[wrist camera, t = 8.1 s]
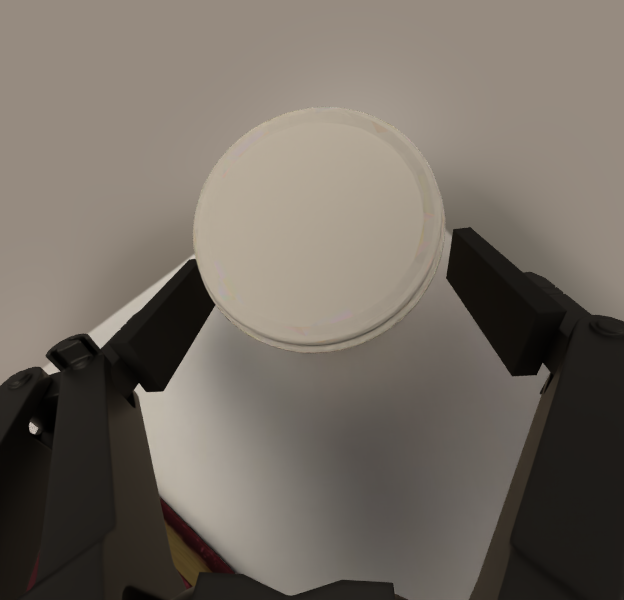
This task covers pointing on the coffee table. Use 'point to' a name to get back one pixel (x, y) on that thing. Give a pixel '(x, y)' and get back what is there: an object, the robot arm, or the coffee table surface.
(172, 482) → the coffee table surface
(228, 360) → the coffee table surface
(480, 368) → the coffee table surface
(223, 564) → the book
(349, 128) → the coffee cup
